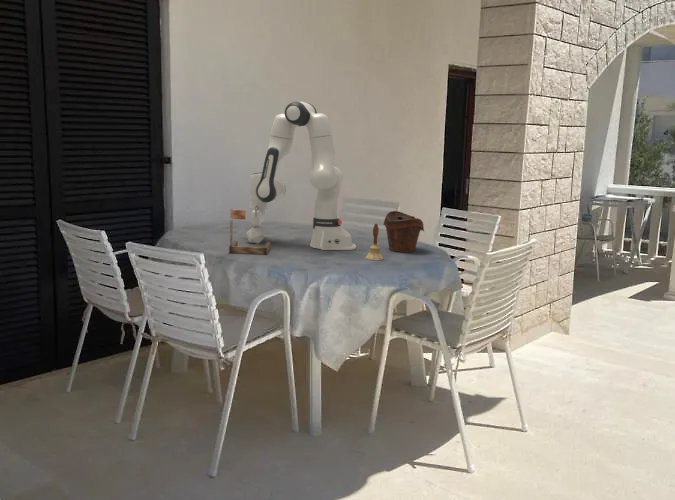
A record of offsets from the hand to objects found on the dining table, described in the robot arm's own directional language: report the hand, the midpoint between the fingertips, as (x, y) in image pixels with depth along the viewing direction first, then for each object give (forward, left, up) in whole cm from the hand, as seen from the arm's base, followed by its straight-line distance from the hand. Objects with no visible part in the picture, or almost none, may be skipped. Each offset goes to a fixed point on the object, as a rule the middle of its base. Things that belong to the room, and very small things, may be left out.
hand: (257, 232), depth 337 cm
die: (0, +7, -4) cm, 9 cm away
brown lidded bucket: (-72, +12, -4) cm, 73 cm away
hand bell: (-57, +36, -4) cm, 68 cm away
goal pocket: (0, +27, -4) cm, 28 cm away
